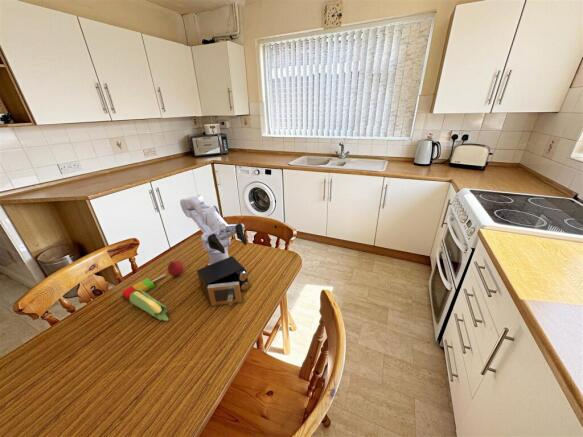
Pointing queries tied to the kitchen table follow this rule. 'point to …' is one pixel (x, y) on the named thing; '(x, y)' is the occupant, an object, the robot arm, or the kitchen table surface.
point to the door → (224, 293)
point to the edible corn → (148, 304)
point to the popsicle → (141, 286)
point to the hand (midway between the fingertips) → (234, 246)
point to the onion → (175, 268)
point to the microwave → (223, 274)
